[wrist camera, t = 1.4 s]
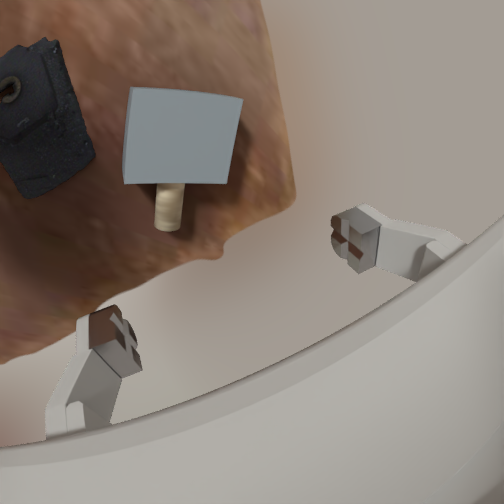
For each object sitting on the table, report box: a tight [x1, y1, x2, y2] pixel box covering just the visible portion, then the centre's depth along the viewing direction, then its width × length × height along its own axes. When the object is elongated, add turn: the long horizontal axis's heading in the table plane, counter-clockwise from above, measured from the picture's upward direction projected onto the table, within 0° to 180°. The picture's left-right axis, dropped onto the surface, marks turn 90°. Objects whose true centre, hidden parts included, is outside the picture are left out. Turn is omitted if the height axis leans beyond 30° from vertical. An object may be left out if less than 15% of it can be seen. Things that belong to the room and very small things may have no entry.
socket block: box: [122, 87, 243, 184], centre depth 36 cm, size 14×12×7 cm
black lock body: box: [0, 37, 95, 199], centre depth 27 cm, size 15×22×5 cm
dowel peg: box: [154, 183, 185, 231], centre depth 40 cm, size 4×12×4 cm, turn 167°
